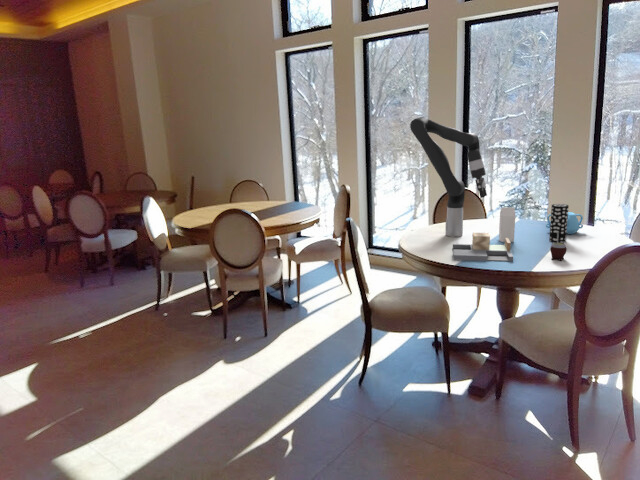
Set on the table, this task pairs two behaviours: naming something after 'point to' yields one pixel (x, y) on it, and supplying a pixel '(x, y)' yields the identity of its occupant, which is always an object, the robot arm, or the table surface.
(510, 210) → the milk carton
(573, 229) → the decorative pot
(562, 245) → the mate gourd
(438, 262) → the table surface
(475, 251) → the trap deck
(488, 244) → the beech block
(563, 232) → the white-spotted black cylinder
